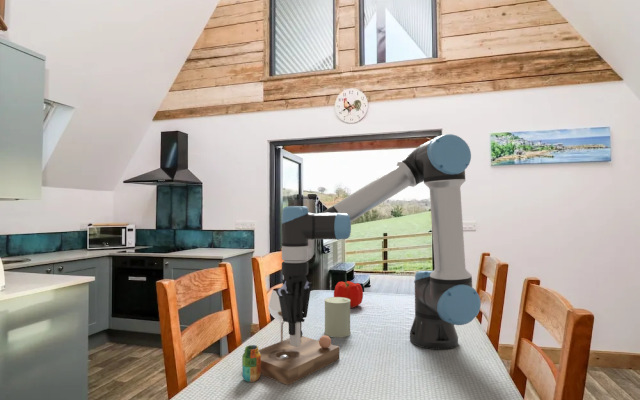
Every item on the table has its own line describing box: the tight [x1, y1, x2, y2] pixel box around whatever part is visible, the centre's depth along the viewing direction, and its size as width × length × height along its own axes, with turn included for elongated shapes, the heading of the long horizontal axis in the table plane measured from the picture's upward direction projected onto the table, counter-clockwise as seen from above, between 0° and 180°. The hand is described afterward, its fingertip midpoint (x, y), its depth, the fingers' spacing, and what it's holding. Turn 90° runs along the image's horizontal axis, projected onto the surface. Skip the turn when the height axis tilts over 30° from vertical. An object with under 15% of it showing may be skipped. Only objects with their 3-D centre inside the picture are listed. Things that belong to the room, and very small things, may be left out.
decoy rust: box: [318, 334, 332, 348], centre depth 107 cm, size 4×4×4 cm
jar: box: [241, 344, 261, 383], centre depth 95 cm, size 5×5×8 cm
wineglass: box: [268, 287, 285, 342], centre depth 118 cm, size 8×8×18 cm
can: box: [323, 296, 351, 339], centre depth 132 cm, size 9×9×12 cm
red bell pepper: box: [333, 280, 364, 309], centre depth 169 cm, size 14×13×10 cm
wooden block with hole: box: [259, 335, 340, 386], centre depth 105 cm, size 16×21×4 cm
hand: (295, 345), depth 105 cm, fingers closed
